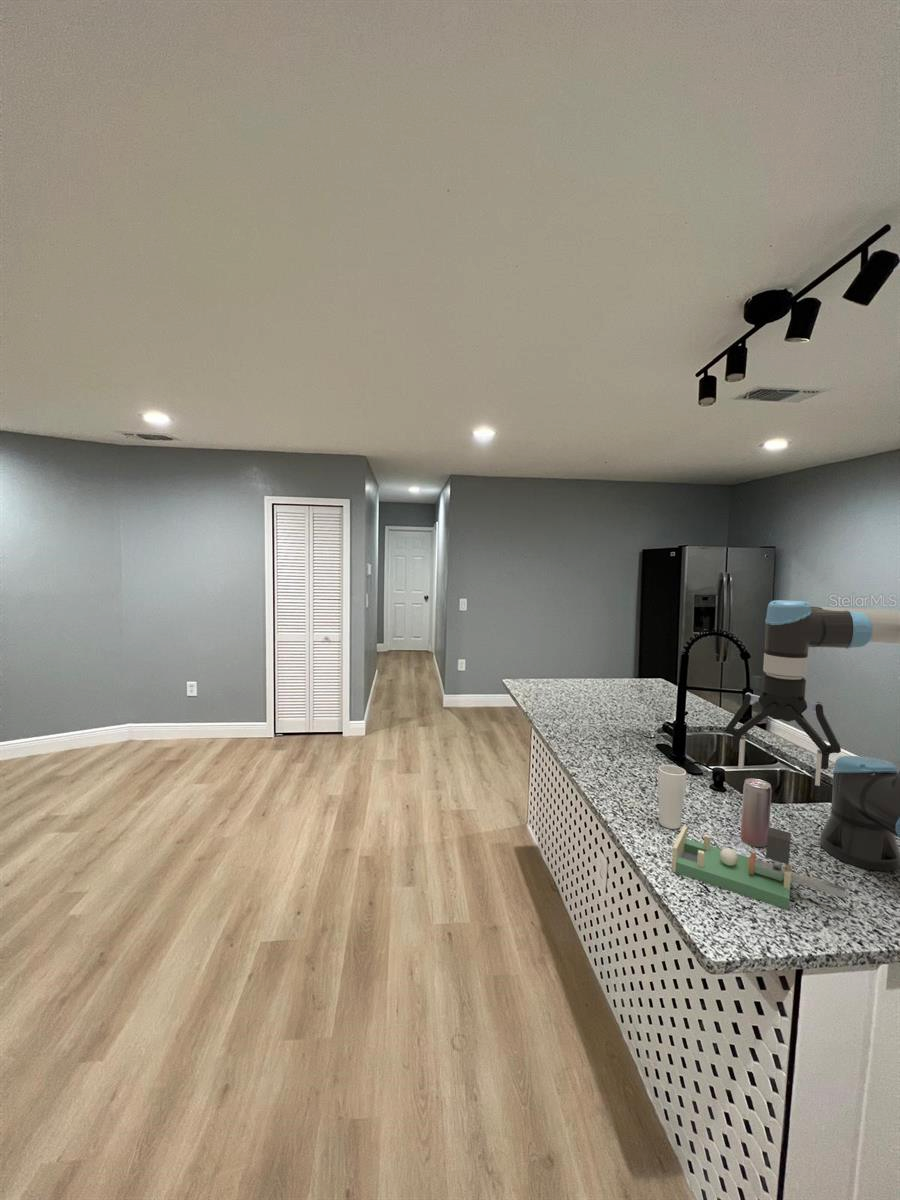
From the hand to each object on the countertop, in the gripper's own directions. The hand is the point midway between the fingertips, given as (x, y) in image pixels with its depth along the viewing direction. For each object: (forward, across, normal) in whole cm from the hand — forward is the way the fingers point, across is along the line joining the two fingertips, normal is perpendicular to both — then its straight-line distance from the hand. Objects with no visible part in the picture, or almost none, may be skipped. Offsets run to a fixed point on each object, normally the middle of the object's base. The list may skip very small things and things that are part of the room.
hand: (777, 775), depth 109 cm
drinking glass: (+25, +24, -15) cm, 37 cm away
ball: (+20, +8, +1) cm, 22 cm away
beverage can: (+25, +5, -19) cm, 32 cm away
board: (+25, +8, +1) cm, 26 cm away
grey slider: (+22, -4, 0) cm, 22 cm away
